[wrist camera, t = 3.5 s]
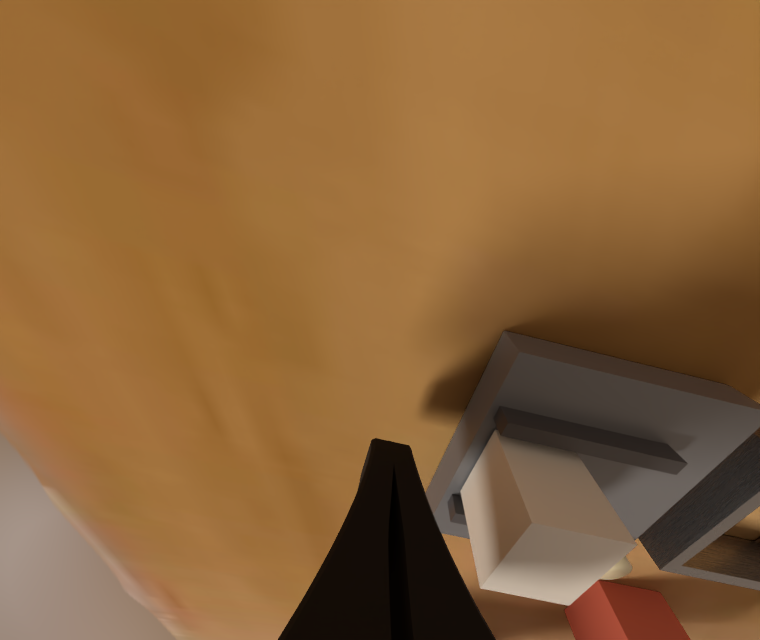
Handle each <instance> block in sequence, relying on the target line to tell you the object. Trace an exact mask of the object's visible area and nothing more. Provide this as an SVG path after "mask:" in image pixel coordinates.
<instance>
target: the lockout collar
mask: <svg viewBox="0 0 760 640" xmlns="http://www.w3.org/2000/svg"><path fill="white" fill-rule="evenodd" d="M759 506H760V427H759V428H758V429H757V430H756V431H755V432H754V433H753V434H752V435H750V436H749V437H748V438H747V439H746V440H745V441H744V442H743V443H742V444H741V445H739V446H738V447H737V448H736V449H735V450H734V451H733V452H732V453H731V454H730V455H728V456H727V457H726V458H725V459H724V460H723V461H722V462H721V463H720V464H719V465H717V466H716V467H715V468H714V469H713V470H712V471H711V472H710V473H709V474H707V475H706V476H705V477H704V478H703V479H702V480H701V481H700V482H699V483H698V484H696V485H695V486H694V487H693V488H692V489H691V490H690V491H689V492H688V493H687V494H685V495H684V496H683V497H682V498H681V499H680V500H679V501H678V502H677V503H675V504H674V505H673V506H672V507H671V508H670V509H669V510H668V511H667V512H666V513H664V514H663V515H662V516H661V517H660V518H659V519H658V520H657V521H656V522H655V523H653V524H652V525H651V526H650V527H649V528H648V529H647V530H646V531H645V532H644V533H642V534H641V535H640V536H639V537H638V538H639V540H640V541H641V543H642V544H643V546H644V547H645V549H646V550H647V552H648V553H649V555H650V556H651V558H652V559H653V561H654V562H655V564H656V565H657V566H658V568H659V569H660V570H662V571H667V572H672V573H677V574H682V575H687V576H691V577H696V578H701V579H706V580H711V581H716V582H721V583H725V584H730V585H735V586H740V587H745V588H750V589H755V590H759V591H760V538H759V539H757V540H756V541H750V540H745V539H740V538H736V537H731V536H727V535H722V534H724V533H725V532H726V531H728V530H729V529H730V528H732V527H733V526H734V525H735V524H737V523H738V522H739V521H741V520H742V519H743V518H745V517H746V516H747V515H749V514H750V513H751V512H753V511H754V510H755V509H757V508H758V507H759Z"/></svg>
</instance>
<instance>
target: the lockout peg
mask: <svg viewBox="0 0 760 640" xmlns="http://www.w3.org/2000/svg"><path fill="white" fill-rule="evenodd" d="M564 611H565V614H566V616H567V619H568V621H569V624H570V626H571V629H572V632H573V634H574V637H575V639H576V640H690V638H689V636H688V635H687V633H686V632H685V630H684V629H683V627H682V626H681V624H680V622H679V621H678V619H677V618H676V616H675V615H674V613H673V611H672V610H671V608H670V607H669V605H668V604H667V602H666V601H665V599H664V597H663V596H662V594H661V593H660V592H656V591H651V590H647V589H642V588H637V587H632V586H627V585H622V584H617V583H612V582H607V581H602V580H598V581H596V582H595V583H594V584H593V585H592V586H591V587H590V588H589V589H587V590H586V591H585V592H584V593H583V594H582V595H581V596H580V597H578V598H577V599H576V600H575V601H574V602H573V603H572V604H571V605H569V606H568V607H567V608H566V609H564Z"/></svg>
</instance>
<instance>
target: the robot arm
mask: <svg viewBox="0 0 760 640" xmlns="http://www.w3.org/2000/svg"><path fill="white" fill-rule="evenodd" d="M278 640H496V639H495V637H494V635H493V634H492V632H491V630H490V629H489V627H488V625H487V623H486V622H485V620H484V618H483V617H482V615H481V613H480V611H479V609H478V607H477V606H476V604H475V602H474V600H473V598H472V596H471V594H470V592H469V591H468V589H467V587H466V585H465V583H464V581H463V579H462V577H461V575H460V573H459V571H458V569H457V567H456V565H455V563H454V561H453V558H452V556H451V554H450V552H449V550H448V548H447V545H446V543H445V541H444V539H443V536H442V534H441V532H440V529H439V527H438V525H437V522H436V520H435V517H434V515H433V512H432V510H431V507H430V504H429V502H428V499H427V497H426V494H425V491H424V488H423V486H422V483H421V480H420V477H419V474H418V471H417V468H416V464H415V461H414V458H413V454H412V450H411V448H410V446H409V445H404V444H400V443H395V442H391V441H386V440H381V439H377V438H375V439H373V440H371V444H370V447H369V450H368V453H367V457H366V460H365V463H364V466H363V469H362V473H361V478H360V483H359V488H358V491H357V494H356V496H355V499H354V501H353V503H352V506H351V508H350V510H349V512H348V514H347V517H346V519H345V521H344V523H343V525H342V527H341V529H340V531H339V533H338V535H337V537H336V539H335V541H334V543H333V545H332V547H331V549H330V551H329V553H328V555H327V557H326V558H325V560H324V562H323V564H322V566H321V568H320V569H319V571H318V573H317V575H316V577H315V578H314V580H313V582H312V584H311V585H310V587H309V589H308V591H307V592H306V594H305V596H304V598H303V599H302V601H301V603H300V604H299V606H298V607H297V609H296V611H295V612H294V614H293V616H292V617H291V619H290V621H289V622H288V624H287V625H286V627H285V629H284V630H283V632H282V634H281V635H280V637H279V639H278Z"/></svg>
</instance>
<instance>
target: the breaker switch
mask: <svg viewBox="0 0 760 640" xmlns="http://www.w3.org/2000/svg"><path fill="white" fill-rule="evenodd" d="M460 492H461V497H462V502H463V507H464V512H465V517H466V522H467V526H468V531H469V536H470V541H471V546H472V551H473V556H474V561H475V566H476V571H477V576H478V581H479V585H480V588H481V589H486V590H491V591H496V592H501V593H506V594H511V595H517V596H522V597H527V598H532V599H537V600H542V601H547V602H552V603H557V604H563V605H568V606H569V605H571V604H572V603H573V602H574V601H575V600H576V599H577V598H578V597H580V596H581V595H582V594H583V593H584V592H585V591H586V590H587V589H589V588H590V587H591V586H592V585H593V584H594V583H595V582H596V581H598V580H599V579H600V578H601V577H602V576H603V575H604V574H605V573H607V572H608V571H609V570H610V569H611V568H612V567H613V566H614V565H615V564H617V563H618V562H619V561H620V560H621V559H622V558H623V557H624V556H626V555H627V554H628V553H629V552H630V551H631V550H632V549H633V548H635V547H636V546H637V543H636V542H635V540H634V539H633V537H632V536H631V534H630V533H629V531H628V530H627V528H626V527H625V525H624V524H623V522H622V521H621V519H620V518H619V516H618V515H617V513H616V512H615V510H614V509H613V507H612V506H611V504H610V503H609V501H608V500H607V498H606V497H605V495H604V494H603V492H602V491H601V489H600V488H599V486H598V485H597V483H596V482H595V480H594V479H593V477H592V476H591V474H590V472H589V471H588V469H587V468H586V466H585V465H584V463H583V462H582V460H581V459H580V457H579V456H578V454H577V453H575V452H571V451H566V450H562V449H557V448H553V447H548V446H544V445H540V444H535V443H531V442H526V441H522V440H517V439H513V438H508V437H504V436H500V433H499V431H498V430H495V431H494V432H493V434H492V436H491V438H490V439H489V441H488V443H487V445H486V447H485V448H484V450H483V452H482V454H481V455H480V457H479V459H478V461H477V463H476V464H475V466H474V468H473V470H472V471H471V473H470V475H469V477H468V479H467V480H466V482H465V484H464V486H463V487H462V489H461V491H460Z"/></svg>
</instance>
